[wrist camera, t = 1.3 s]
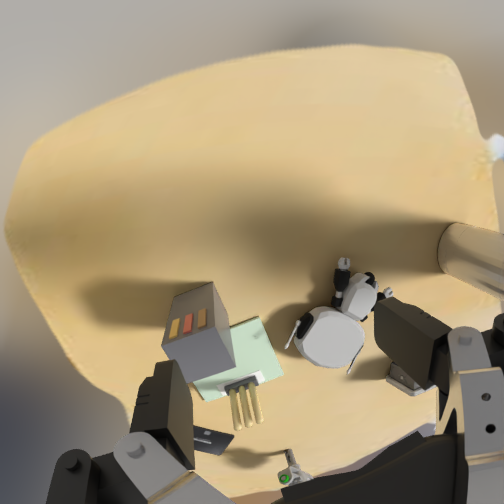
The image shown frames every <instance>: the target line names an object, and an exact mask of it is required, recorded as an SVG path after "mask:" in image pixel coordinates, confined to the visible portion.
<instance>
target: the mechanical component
mask: <svg viewBox="0 0 504 504" xmlns="http://www.w3.org/2000/svg"><path fill="white" fill-rule="evenodd" d="M284 453H285V456H286V459H287V462H288V465H289V467H288V468H286V469H284V470H282V471H280V472H278V478H279V482H280V483H281V484H283V485H288V484H289V486H292V485H295V484H299V483H302V482H305V481H308V480H311V479H314V478H313V477H312V476H311V475H310V474H308V473H306V472H304V471H301V469H300V465H299V464H296V461H295V458H294V455H293V452H292V449H288V452H285V451H284Z"/></svg>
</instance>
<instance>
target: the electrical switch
mask: <svg viewBox="0 0 504 504" xmlns="http://www.w3.org/2000/svg"><path fill="white" fill-rule="evenodd" d="M386 381H387V382H388V383H390V384H392V385H393V386H395V387H396V388H398V389H400V390H401V391H403V392H405V393H406V394H408V395H409V396H416V395H419V394H421V393H423V392H426V391H428V390H430V389H433V388H435V387H437V386H436V385H434V386H432V387H431V388H429V389H427V390H426V391H424V390H423V389H422V388H421V387H420V386H419V385H418V384H417V383H416V382H415V381H414V380H413V379H412V378H411V377H410V376H409V375H408V374H407V373H405V372H404V371H403V370H402V369H401V368H400V367H399V366H398V365H397V364H396V363H395V362H392V363H391V370H390V375H387V376H386Z"/></svg>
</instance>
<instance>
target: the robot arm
mask: <svg viewBox="0 0 504 504" xmlns="http://www.w3.org/2000/svg"><path fill="white" fill-rule="evenodd" d="M438 262H439V266H440V268H441V269H442V271H443V272H445V273H446V274H449V275H451V276H453V277H455V278H457V279H459V280H461V281H463V282H465V283H468V284H470V285H472V286H474V287H476V288H478V289H480V290H482V291H484V292H486V293H488V294H490V295H492V296H494V297H496V298H498V299H500V300H502V301H504V234H502V233H498V232H495V231H491V230H487V229H484V228H480V227H476V226H472V225H468V224H466V225H464V224H460V223H453V224H452V225H450V226H449V227H448V228H447V229H446V230H445V232H444V233H443V235H442V237H441V240H440V243H439V247H438ZM374 337H375V341H376V343H377V345H378V347H379V348H380V349H381V350H382V351H383V352H384V353H385V354H386V355H387V356H389V357H390V358H391V359H392V360H393V361H394V362H395V363H396V364H397V365H398V366H399V367H400V368H401V369H402V370H403V371H404V372H405V373H407V374H408V375H409V376H410V377H411V378H412V379H413V380H414V381H415V382H416V383H417V384H418V385H419V386H420V387H421V388H422V389H423V390H424V391H426V390H427V389H429V388H431V387H432V386H434V385H436V386H437V391H436V431H435V435H432V436H428V437H424V438H423V437H422V435H421V434H420V433H419V432H418V431H416V432H415V433H413V434H411V435H410V436H408V437H406V438H404V439H402V440H401V441H399V442H397V443H395V444H393V445H391V446H389V447H388V448H387V449H386V450H384V451H383V452H382V453H381V454H379V455H378V456H377V457H376V458H374V459H373V460H372V461H370V462H369V463H368V464H367V465H365V466H364V467H362V468H361V469H359V470H356V471H351V472H347V473H341V474H335V475H330V476H323V477H317V478H314V479H311V480H308V481H305V482H302V483H299V484H295V485H292V486H288V487H285V488H281V492H282V495H283V497H282V498H280V499H278V500H276V501H275V502H273V503H271V504H504V313H503V314H499V315H498V316H496V317H495V319H494V323H493V328H492V329H490V330H487V331H484V332H481V333H480V332H479V331H478V330H477V329H475V328H472V327H466V326H462V327H457V328H455V329H452V328H450V327H449V326H447V325H446V324H444V323H442V322H441V321H439V320H438V319H436V318H434V317H433V316H432V317H431V315H430V314H428V313H426V312H424V311H423V310H421V309H420V308H418V307H417V306H414V305H410V304H406V303H402V302H401V301H399V300H398V299H396V298H394V297H388V298H386V299H383V300H381V301H378V302H376V303H375V305H374ZM137 397H138V398H137V399H136V406H135V408H134V413H133V418H132V423H131V427H130V433H129V434H127V435H125V436H123V437H122V438H121V439H120V440H119V441H118V442H117V443H116V445H115V447H114V451H113V452H112V453H109V454H106V455H102V456H98V457H95V458H91V457H90V455H89V454H88V453H87V452H85V451H83V450H80V449H73V450H70V451H67V452H65V453H64V454H62V456H61V457H60V458H59V459H58V461H57V463H56V466H55V469H54V473H53V477H52V480H51V484H50V488H49V492H48V497H47V501H46V504H236V503H235V502H233V501H232V500H230V499H229V498H227V497H226V496H225V495H223V494H222V493H221V492H219V491H218V490H217V489H215V488H214V487H213V486H211V485H210V484H209V483H208V482H206V481H205V480H204V479H203V478H201V477H200V476H199V475H198V474H196V473H195V472H193V471H192V472H189V471H188V470H195V457H194V433H193V402H192V397H191V393H190V390H189V388H188V385H187V383H186V381H185V379H184V376H183V374H182V372H181V369H180V367H179V364H178V362H177V361H176V360H175V359H173V360H168V361H162V362H157V363H156V365H155V369H154V375H153V376H152V377H146V379H145V380H144V381H143V383H142V384H141V385H140V387H139V391H138V395H137Z"/></svg>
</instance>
